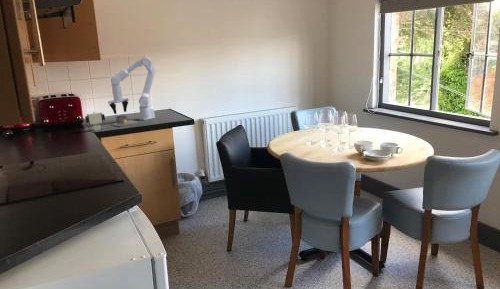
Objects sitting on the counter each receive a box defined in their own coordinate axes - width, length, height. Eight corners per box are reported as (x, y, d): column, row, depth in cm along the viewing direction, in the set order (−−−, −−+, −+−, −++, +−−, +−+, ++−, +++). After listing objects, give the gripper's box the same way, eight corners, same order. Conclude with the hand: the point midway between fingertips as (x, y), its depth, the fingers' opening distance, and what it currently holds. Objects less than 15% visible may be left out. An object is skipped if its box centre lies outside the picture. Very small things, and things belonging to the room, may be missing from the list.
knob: (123, 121, 294) (122, 113, 293) (127, 121, 290) (126, 114, 289) (116, 122, 290) (115, 115, 289) (120, 123, 286) (119, 115, 285)
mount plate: (129, 121, 290) (129, 116, 289) (138, 122, 282) (137, 117, 281) (111, 125, 281) (110, 120, 280) (120, 126, 272) (119, 121, 272)
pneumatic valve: (106, 129, 268) (103, 111, 265) (88, 132, 264) (84, 113, 261) (105, 127, 273) (102, 110, 270) (87, 130, 268) (84, 112, 265)
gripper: (123, 92, 293) (126, 110, 296) (104, 94, 283) (108, 114, 286) (128, 92, 288) (131, 111, 291) (109, 95, 278) (112, 114, 281)
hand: (120, 112), depth 289 cm, fingers open, 7 cm apart
